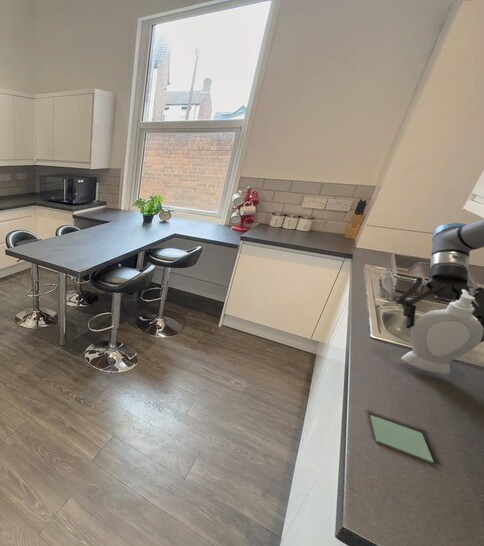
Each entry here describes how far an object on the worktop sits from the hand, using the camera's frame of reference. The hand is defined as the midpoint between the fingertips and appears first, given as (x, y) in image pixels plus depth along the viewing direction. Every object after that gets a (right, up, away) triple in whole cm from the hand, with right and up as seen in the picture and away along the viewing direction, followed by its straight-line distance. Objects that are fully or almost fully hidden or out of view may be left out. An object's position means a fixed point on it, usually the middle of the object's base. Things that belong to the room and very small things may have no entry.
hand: (442, 334), depth 88 cm
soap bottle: (+1, -10, +6) cm, 12 cm away
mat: (-30, -21, -17) cm, 41 cm away
